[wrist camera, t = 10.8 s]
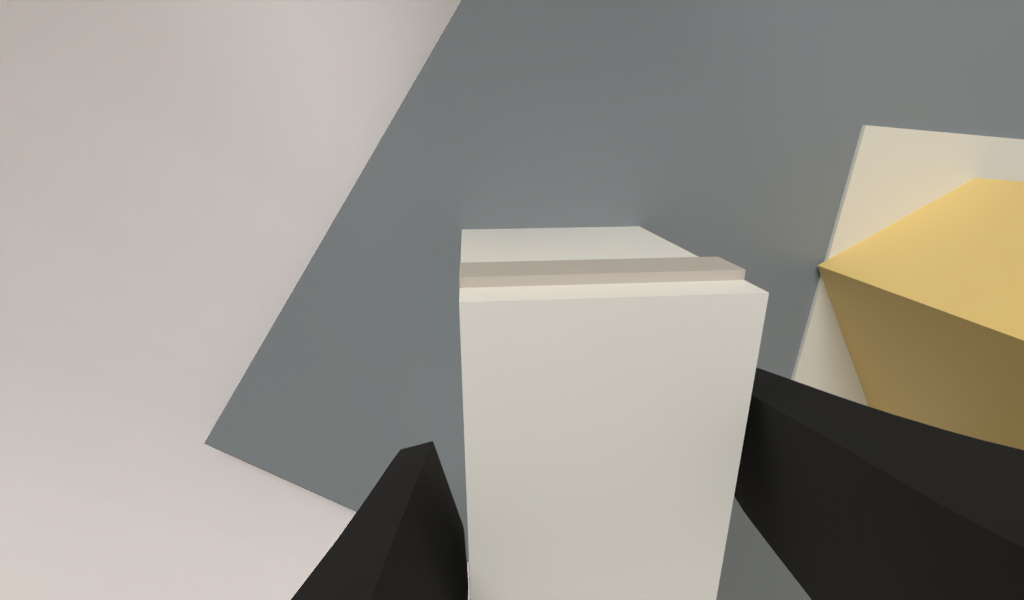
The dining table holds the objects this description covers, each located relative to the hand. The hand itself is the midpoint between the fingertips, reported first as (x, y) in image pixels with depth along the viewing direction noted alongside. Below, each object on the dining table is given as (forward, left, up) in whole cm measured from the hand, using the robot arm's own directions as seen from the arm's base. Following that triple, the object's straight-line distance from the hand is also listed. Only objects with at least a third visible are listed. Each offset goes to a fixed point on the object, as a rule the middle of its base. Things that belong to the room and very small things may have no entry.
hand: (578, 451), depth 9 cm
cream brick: (0, 0, -3) cm, 3 cm away
